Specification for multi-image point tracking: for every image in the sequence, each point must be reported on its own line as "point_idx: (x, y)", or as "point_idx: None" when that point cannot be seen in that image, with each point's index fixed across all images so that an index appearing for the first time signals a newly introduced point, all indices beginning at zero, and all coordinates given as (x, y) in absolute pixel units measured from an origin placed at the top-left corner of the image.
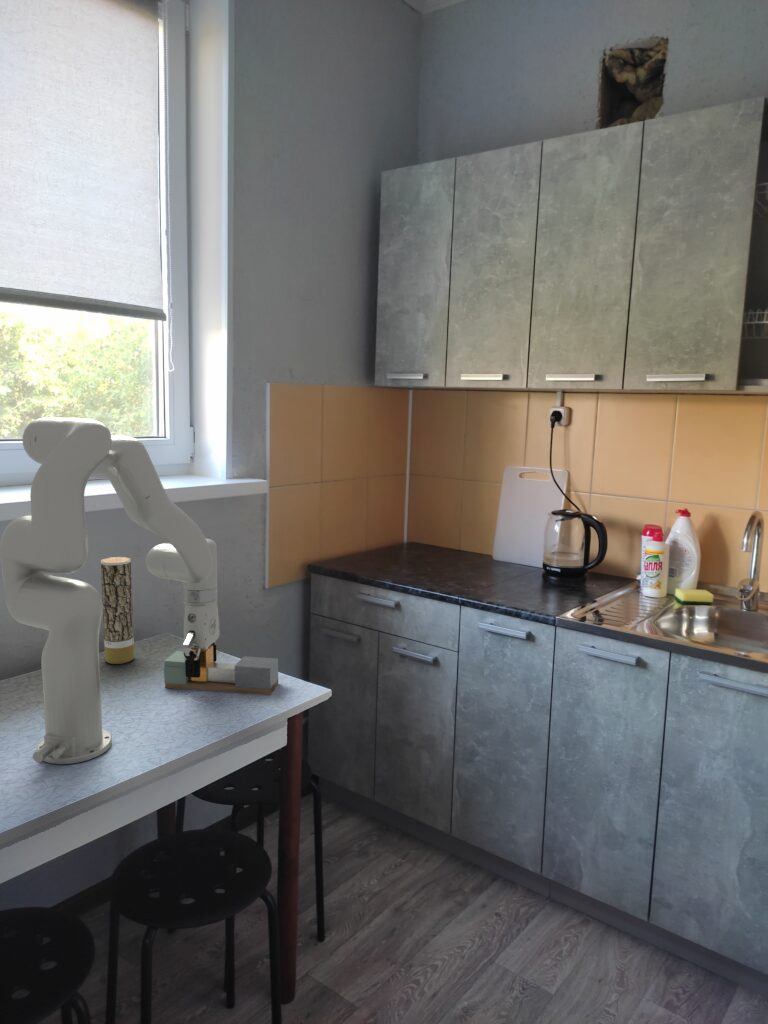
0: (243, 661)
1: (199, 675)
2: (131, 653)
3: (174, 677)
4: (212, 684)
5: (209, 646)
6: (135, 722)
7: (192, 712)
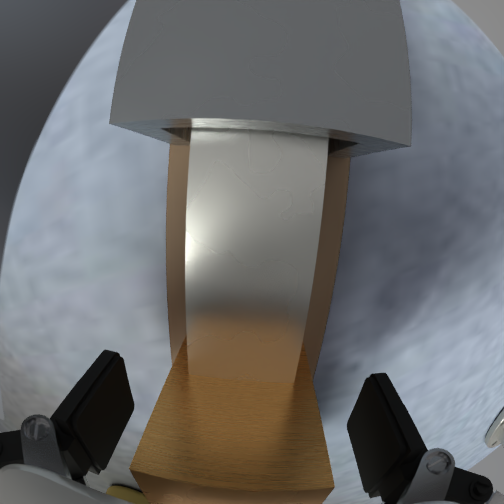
0: (266, 73)
1: (387, 377)
2: (128, 501)
3: None
4: (313, 295)
5: (172, 487)
6: (490, 388)
7: (491, 286)
